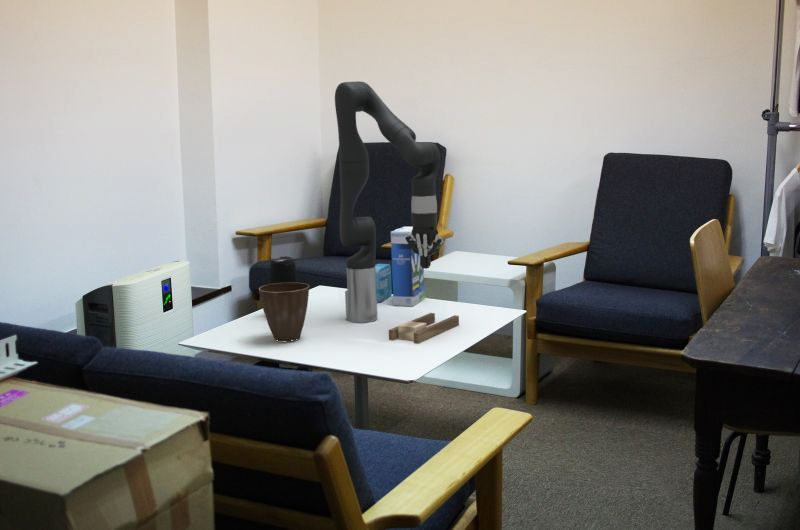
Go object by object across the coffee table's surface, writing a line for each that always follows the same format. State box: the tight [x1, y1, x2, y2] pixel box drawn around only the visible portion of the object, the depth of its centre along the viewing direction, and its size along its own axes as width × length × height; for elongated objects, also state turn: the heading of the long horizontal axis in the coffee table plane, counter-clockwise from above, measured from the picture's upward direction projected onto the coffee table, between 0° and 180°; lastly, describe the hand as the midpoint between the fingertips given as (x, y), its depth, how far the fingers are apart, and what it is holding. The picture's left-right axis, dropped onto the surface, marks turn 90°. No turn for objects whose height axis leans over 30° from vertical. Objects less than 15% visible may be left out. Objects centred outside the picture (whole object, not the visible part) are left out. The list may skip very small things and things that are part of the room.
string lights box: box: [390, 226, 426, 307], centre depth 320 cm, size 13×8×26 cm, turn 160°
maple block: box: [397, 320, 427, 342], centre depth 271 cm, size 6×6×4 cm
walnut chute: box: [388, 312, 460, 345], centre depth 277 cm, size 10×24×4 cm, turn 148°
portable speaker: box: [268, 255, 299, 285], centre depth 306 cm, size 9×9×20 cm
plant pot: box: [258, 282, 310, 342], centre depth 276 cm, size 15×15×16 cm
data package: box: [375, 263, 393, 303], centre depth 328 cm, size 12×4×12 cm, turn 159°
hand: (425, 268), depth 277 cm, fingers closed
